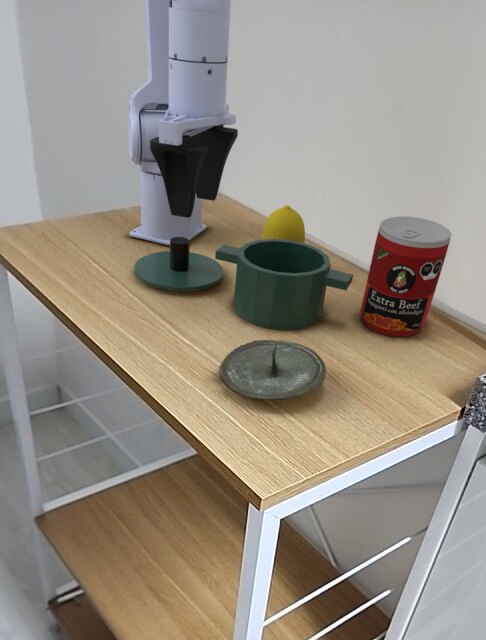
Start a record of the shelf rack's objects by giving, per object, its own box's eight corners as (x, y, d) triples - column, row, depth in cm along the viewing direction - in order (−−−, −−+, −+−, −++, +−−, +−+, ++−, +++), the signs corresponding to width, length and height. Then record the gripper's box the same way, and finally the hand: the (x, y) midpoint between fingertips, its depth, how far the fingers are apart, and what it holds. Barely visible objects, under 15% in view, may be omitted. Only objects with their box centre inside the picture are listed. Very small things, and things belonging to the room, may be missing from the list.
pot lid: (160, 252, 86) (160, 217, 83) (236, 271, 84) (239, 235, 81) (117, 282, 78) (116, 244, 75) (200, 303, 76) (202, 266, 73)
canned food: (352, 329, 74) (373, 232, 66) (366, 302, 79) (386, 210, 72) (419, 344, 72) (448, 247, 65) (427, 315, 78) (455, 224, 71)
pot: (233, 278, 82) (237, 227, 78) (352, 308, 78) (363, 256, 74) (198, 310, 74) (200, 255, 70) (328, 344, 70) (339, 289, 66)
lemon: (297, 278, 83) (306, 215, 78) (255, 271, 84) (262, 209, 79) (302, 262, 87) (311, 202, 82) (262, 256, 88) (269, 196, 83)
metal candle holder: (337, 404, 64) (352, 357, 62) (275, 418, 57) (290, 365, 55) (260, 365, 70) (271, 320, 67) (195, 373, 63) (205, 323, 60)
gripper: (211, 70, 56) (205, 230, 64) (258, 59, 67) (248, 197, 75) (137, 61, 57) (140, 219, 65) (195, 52, 68) (192, 188, 76)
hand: (194, 207), depth 70 cm, fingers open, 7 cm apart
